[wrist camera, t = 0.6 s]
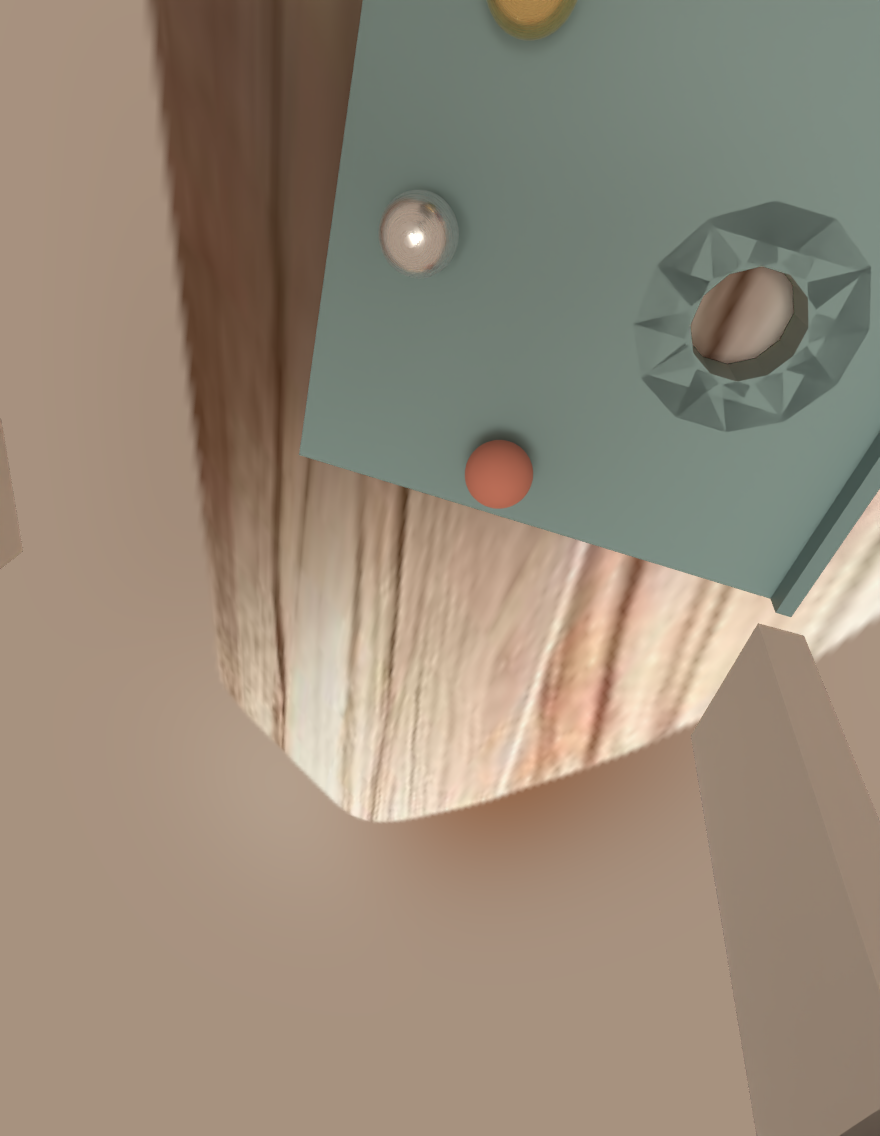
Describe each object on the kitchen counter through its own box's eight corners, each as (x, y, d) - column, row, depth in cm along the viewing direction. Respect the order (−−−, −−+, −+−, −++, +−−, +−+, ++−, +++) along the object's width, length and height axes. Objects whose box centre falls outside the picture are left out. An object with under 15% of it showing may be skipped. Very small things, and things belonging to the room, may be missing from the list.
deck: (407, -178, 25) (382, -218, 22) (1123, 34, 24) (1199, 24, 21) (314, 436, 38) (291, 464, 35) (774, 576, 38) (791, 617, 35)
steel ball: (397, 176, 29) (377, 183, 26) (473, 198, 28) (461, 208, 26) (382, 258, 30) (362, 272, 28) (453, 279, 30) (440, 295, 28)
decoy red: (479, 421, 34) (470, 447, 31) (543, 440, 34) (540, 469, 31) (462, 479, 35) (452, 508, 33) (523, 497, 35) (518, 529, 33)
